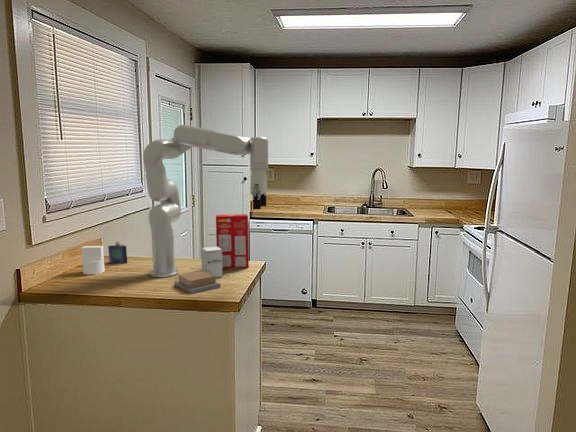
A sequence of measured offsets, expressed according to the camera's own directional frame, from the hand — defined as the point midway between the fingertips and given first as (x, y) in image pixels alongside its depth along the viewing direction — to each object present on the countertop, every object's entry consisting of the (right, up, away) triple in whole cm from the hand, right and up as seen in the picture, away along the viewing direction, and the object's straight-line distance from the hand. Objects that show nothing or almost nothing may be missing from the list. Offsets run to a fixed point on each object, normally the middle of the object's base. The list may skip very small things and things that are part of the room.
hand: (259, 207), depth 186 cm
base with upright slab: (-77, -30, +16) cm, 84 cm away
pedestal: (-25, -32, -5) cm, 41 cm away
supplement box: (-22, -30, +9) cm, 39 cm away
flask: (-73, -27, +33) cm, 84 cm away
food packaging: (-14, -28, +24) cm, 40 cm away
